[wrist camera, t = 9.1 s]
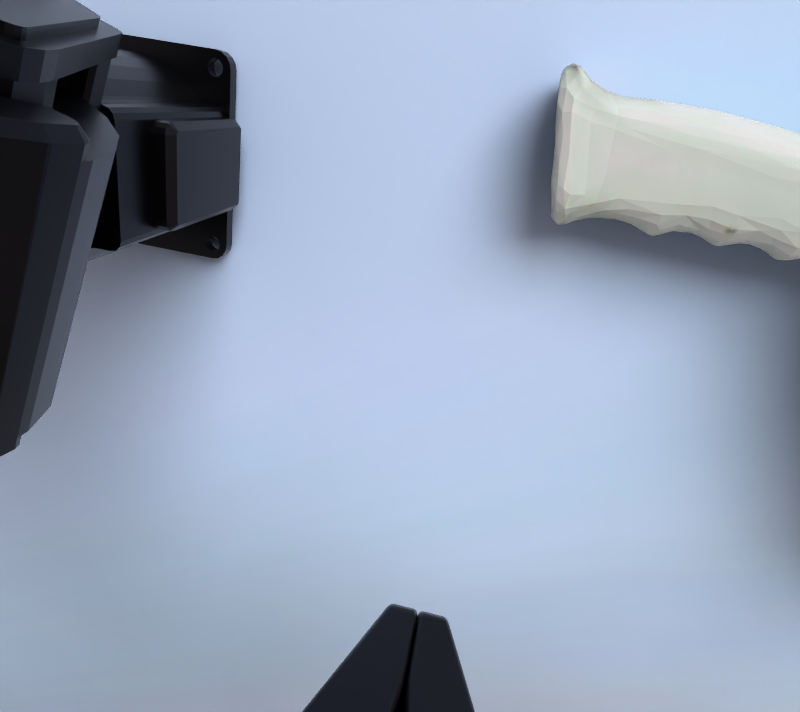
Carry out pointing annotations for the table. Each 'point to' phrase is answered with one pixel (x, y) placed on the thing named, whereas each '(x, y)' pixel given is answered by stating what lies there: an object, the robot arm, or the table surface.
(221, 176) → the robot arm
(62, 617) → the table surface
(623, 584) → the table surface
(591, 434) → the table surface
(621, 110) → the tape dispenser
